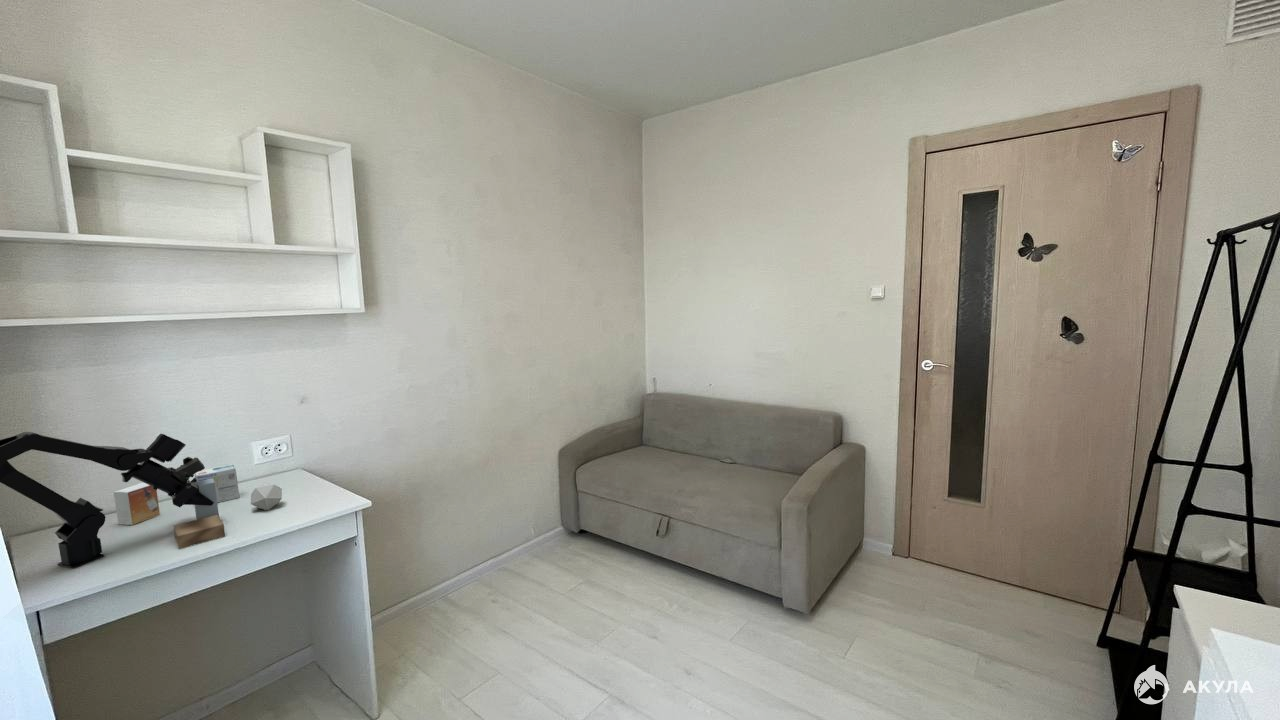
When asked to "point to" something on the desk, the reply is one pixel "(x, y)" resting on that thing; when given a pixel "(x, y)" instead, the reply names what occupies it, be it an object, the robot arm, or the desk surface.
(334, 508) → the desk surface
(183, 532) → the walnut base block
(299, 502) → the desk surface
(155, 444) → the robot arm
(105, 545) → the desk surface
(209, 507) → the slate block
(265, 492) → the die
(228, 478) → the light bulb box
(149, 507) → the small box
